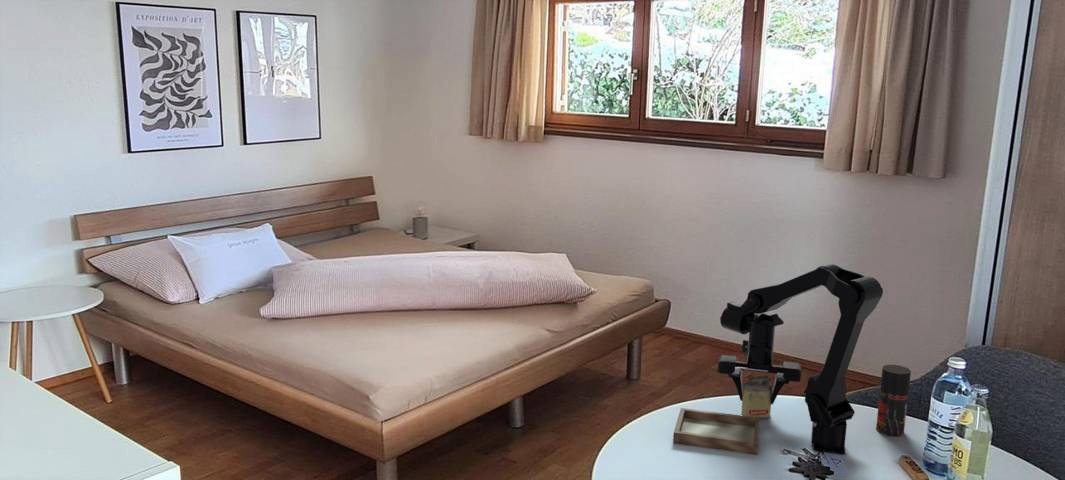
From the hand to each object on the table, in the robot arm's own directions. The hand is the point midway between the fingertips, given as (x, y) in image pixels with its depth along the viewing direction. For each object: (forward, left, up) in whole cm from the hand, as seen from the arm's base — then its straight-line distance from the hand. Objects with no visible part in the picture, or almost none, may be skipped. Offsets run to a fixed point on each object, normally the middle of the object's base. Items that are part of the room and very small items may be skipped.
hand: (756, 402), depth 201 cm
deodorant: (-30, -1, -4) cm, 30 cm away
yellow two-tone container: (0, 0, -4) cm, 4 cm away
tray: (+8, +14, -4) cm, 17 cm away
